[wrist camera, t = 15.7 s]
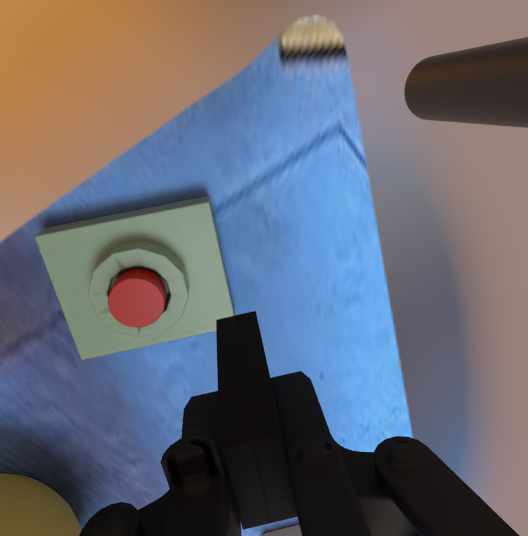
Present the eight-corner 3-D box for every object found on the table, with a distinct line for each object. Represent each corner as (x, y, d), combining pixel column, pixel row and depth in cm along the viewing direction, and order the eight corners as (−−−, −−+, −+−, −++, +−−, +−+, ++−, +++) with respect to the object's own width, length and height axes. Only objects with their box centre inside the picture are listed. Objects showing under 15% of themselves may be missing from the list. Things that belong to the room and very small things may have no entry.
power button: (159, 263, 30) (156, 272, 28) (171, 310, 31) (170, 321, 30) (106, 274, 30) (100, 284, 28) (121, 321, 31) (116, 332, 30)
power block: (208, 195, 33) (209, 207, 29) (235, 314, 36) (238, 338, 32) (44, 227, 32) (23, 244, 28) (88, 345, 35) (75, 374, 32)
